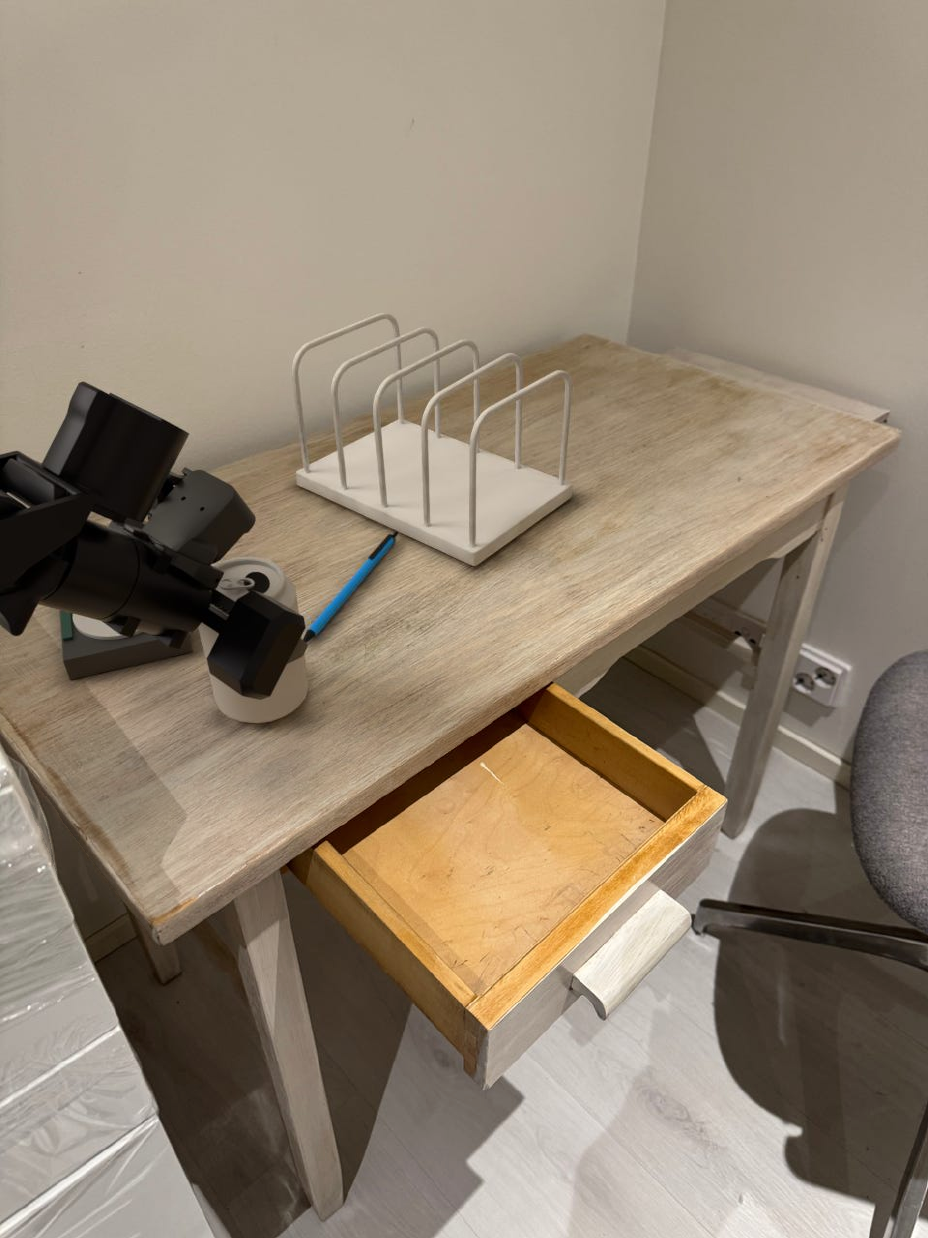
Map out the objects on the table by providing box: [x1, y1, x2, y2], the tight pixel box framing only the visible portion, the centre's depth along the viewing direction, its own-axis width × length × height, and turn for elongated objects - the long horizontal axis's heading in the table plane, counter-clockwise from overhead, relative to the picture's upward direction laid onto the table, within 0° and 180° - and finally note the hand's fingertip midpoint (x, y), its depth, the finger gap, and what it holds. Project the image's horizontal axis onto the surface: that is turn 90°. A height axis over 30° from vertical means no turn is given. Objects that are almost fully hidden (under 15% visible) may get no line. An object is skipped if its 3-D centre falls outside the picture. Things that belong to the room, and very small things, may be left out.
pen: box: [302, 530, 400, 644], centre depth 83 cm, size 1×19×1 cm, turn 158°
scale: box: [58, 610, 193, 681], centre depth 78 cm, size 10×10×3 cm
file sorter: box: [291, 312, 574, 567], centre depth 93 cm, size 25×17×16 cm
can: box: [197, 556, 310, 724], centre depth 69 cm, size 8×8×12 cm
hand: (266, 625), depth 69 cm, fingers open, 8 cm apart
